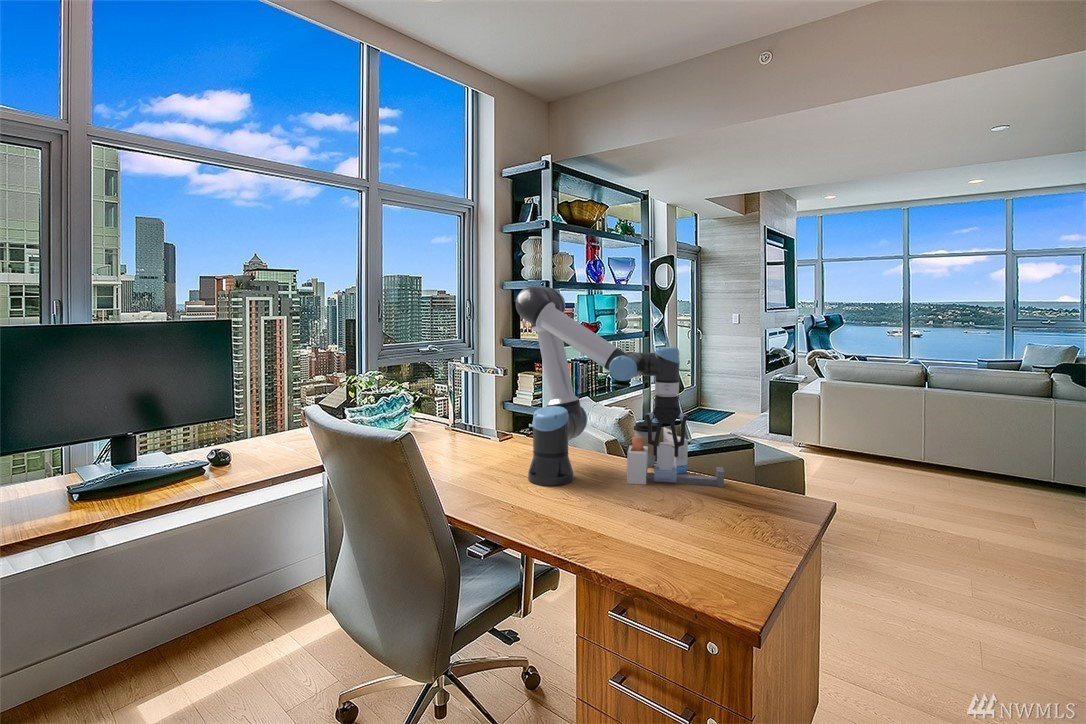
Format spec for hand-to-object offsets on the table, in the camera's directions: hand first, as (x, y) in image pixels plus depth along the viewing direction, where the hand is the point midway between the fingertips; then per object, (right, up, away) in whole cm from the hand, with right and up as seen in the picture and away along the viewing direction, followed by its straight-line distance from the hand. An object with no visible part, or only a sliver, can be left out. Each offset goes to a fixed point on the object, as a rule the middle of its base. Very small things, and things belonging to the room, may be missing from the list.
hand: (665, 465), depth 176 cm
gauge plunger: (-9, +5, +2) cm, 10 cm away
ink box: (+6, -4, +12) cm, 14 cm away
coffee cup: (-3, -4, +20) cm, 20 cm away
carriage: (0, -5, +1) cm, 5 cm away
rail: (+5, -5, -1) cm, 7 cm away
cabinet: (-9, -5, +3) cm, 10 cm away
